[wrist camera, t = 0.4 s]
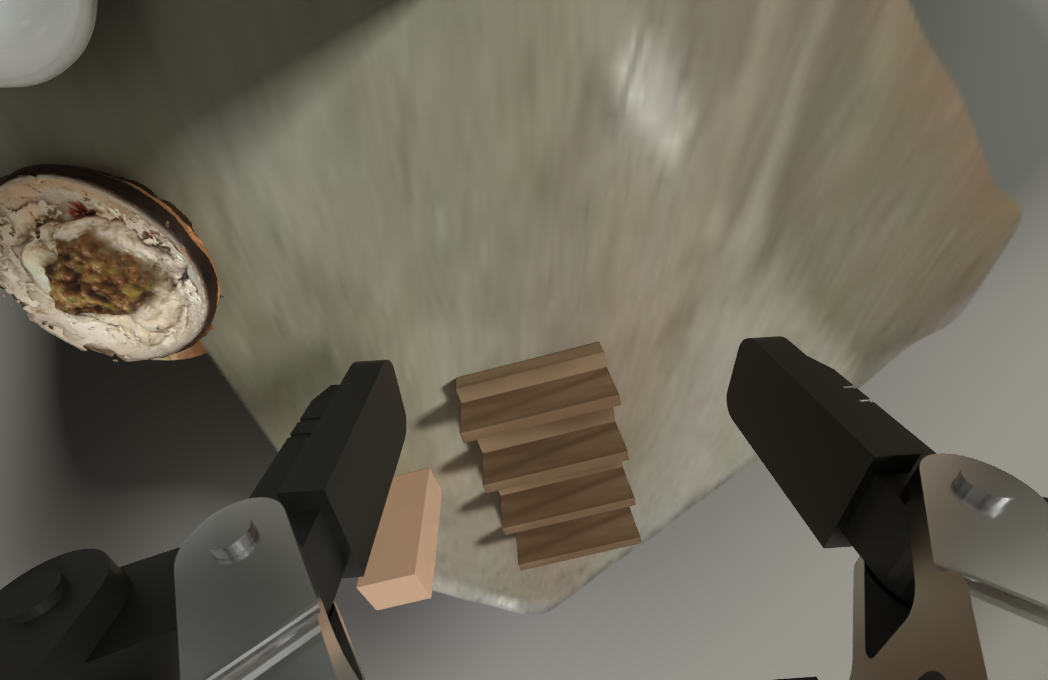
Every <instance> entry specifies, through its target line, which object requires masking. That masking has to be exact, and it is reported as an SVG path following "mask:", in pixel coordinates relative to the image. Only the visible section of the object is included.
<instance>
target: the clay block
mask: <svg viewBox="0 0 1048 680" xmlns="http://www.w3.org/2000/svg"><path fill="white" fill-rule="evenodd" d="M441 497H442V490H441V488H440V487H439V485H438V483H437V481H436V479H435V477H434V475H433V474H432V472H431V470H430V468H428V469H424V470H420V471H415V472H411V473H407V474H403V475H399V476H395V477H393V480H392V483H391V487H390V490H389V493H388V497H387V500H386V503H385V507H384V510H383V513H382V517H381V520H380V523H379V527H378V530H377V533H376V537H375V540H374V543H373V547H372V550H371V554H370V557H369V560H368V564H367V567H366V570H365V574H364V577H359V580H358V584H357V589H358V590H359V591H360V592H361V593H362V594H363V595H364V597H365V598H366V599H367V600H368V601H369V602H370V603H371V605H372V606H373V607H374V608H375V609H376V610H380V609H384V608H389V607H393V606H397V605H402V604H406V603H410V602H415V601H419V600H424V599H428V598H431V595H432V586H433V576H434V567H435V557H436V547H437V537H438V527H439V517H440V507H441Z"/></svg>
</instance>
